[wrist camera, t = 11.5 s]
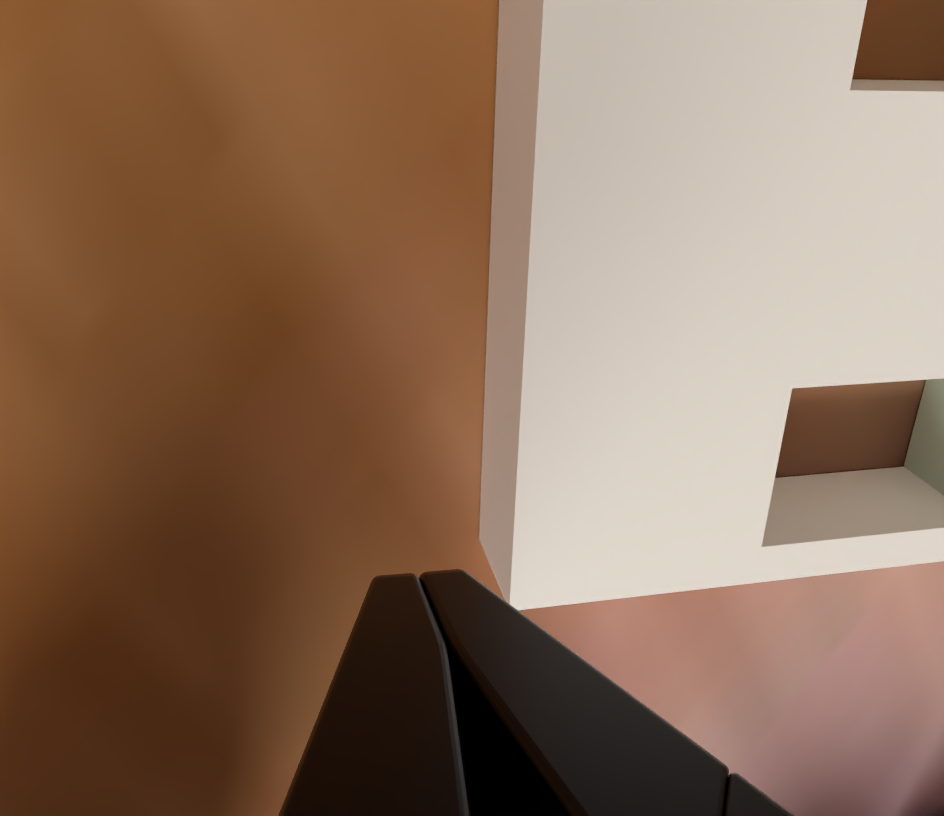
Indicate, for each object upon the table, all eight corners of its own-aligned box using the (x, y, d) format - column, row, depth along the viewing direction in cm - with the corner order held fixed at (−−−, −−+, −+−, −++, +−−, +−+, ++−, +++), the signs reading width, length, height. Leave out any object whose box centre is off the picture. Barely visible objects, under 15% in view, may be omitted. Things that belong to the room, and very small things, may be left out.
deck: (1073, 480, 26) (1241, 579, 22) (479, 538, 22) (534, 671, 18) (1298, -156, 19) (1605, -203, 15) (507, -227, 16) (606, -317, 11)
